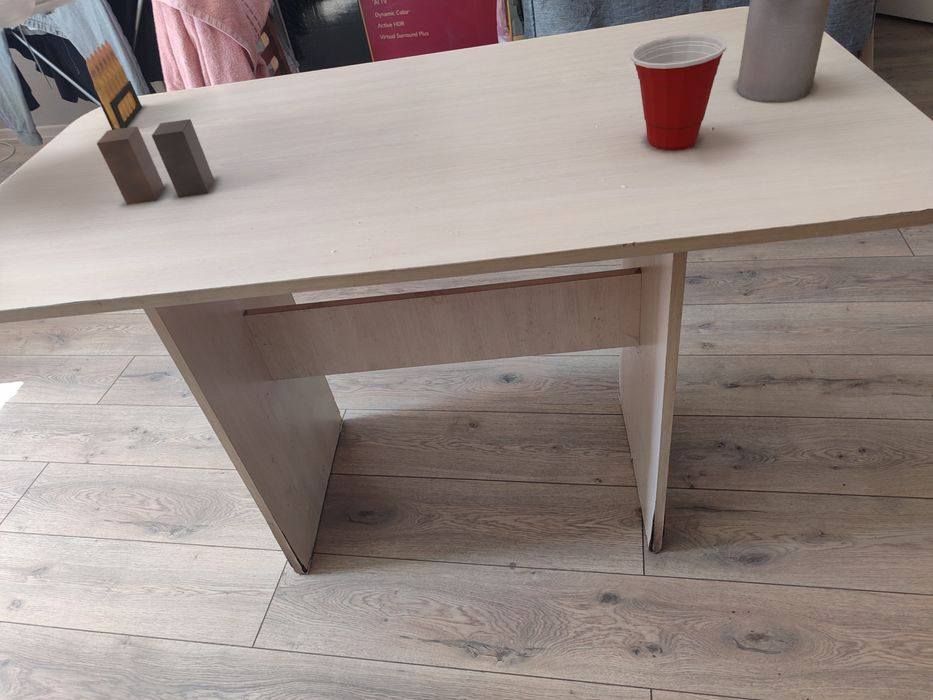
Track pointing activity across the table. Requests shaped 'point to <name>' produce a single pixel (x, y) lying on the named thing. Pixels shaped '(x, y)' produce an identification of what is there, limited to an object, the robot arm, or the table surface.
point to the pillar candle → (781, 48)
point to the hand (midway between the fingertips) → (14, 19)
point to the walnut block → (131, 165)
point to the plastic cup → (676, 86)
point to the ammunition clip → (113, 87)
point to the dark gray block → (183, 158)
